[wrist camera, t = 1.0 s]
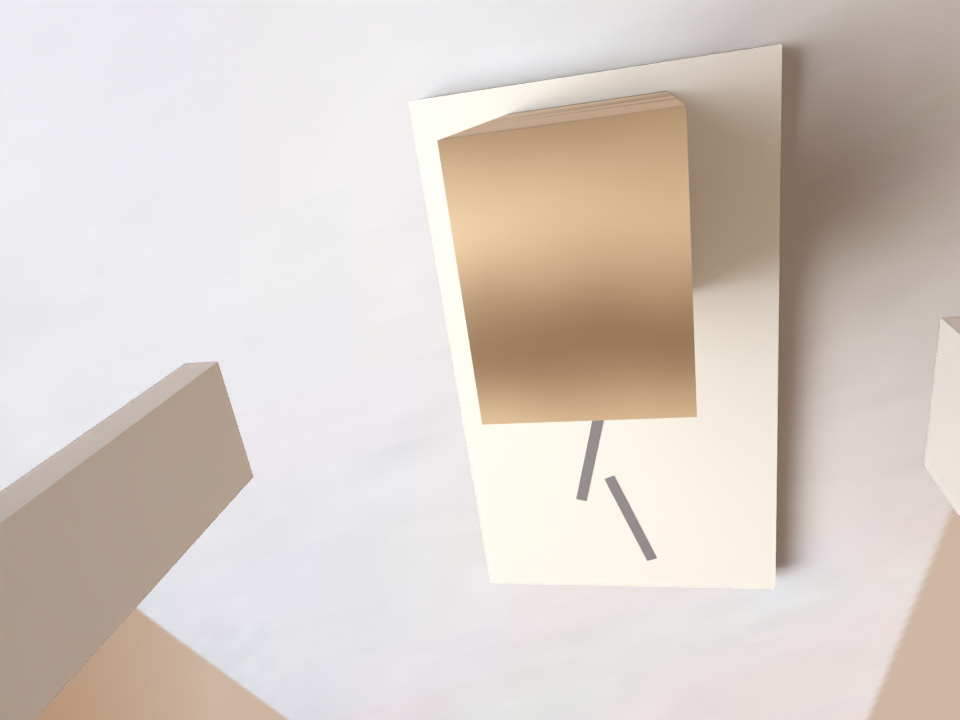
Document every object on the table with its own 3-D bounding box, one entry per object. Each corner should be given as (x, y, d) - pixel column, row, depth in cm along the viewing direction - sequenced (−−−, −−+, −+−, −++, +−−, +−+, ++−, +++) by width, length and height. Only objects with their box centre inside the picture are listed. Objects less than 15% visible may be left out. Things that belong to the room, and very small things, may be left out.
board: (418, 99, 29) (407, 101, 28) (774, 44, 26) (782, 43, 25) (495, 564, 38) (490, 583, 37) (769, 568, 35) (775, 589, 33)
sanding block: (508, 113, 27) (437, 140, 17) (666, 90, 26) (686, 106, 16) (532, 307, 30) (482, 424, 20) (675, 295, 29) (696, 416, 19)
